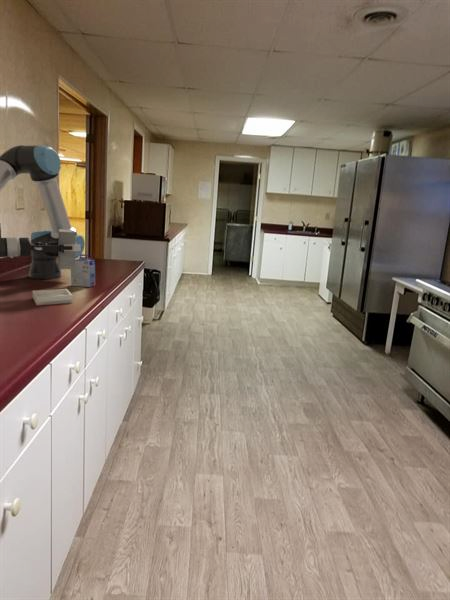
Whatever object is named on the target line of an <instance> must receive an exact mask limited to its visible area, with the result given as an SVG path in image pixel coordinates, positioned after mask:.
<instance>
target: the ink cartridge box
mask: <svg viewBox="0 0 450 600" xmlns="http://www.w3.org/2000/svg"><path fill="white" fill-rule="evenodd" d="M88 256H89V255H88V254H83V253H82V254H81V255H80V257H78V258H75V269H70V286H71V287H72V286H74V287H83V288H85V287H87V288H92V287H96V261H95V259H88Z"/></svg>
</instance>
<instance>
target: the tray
mask: <svg viewBox="0 0 450 600" xmlns="http://www.w3.org/2000/svg"><path fill="white" fill-rule="evenodd" d="M32 299H33V301H34V302H35V306H43V305H44V306H45V305H47V306H48V305H57V304H59V305H60V304H73V303H74V295H73V293H71V291H70V290H69V289H68V288H56V289H39V290H37V289H36V290H32Z"/></svg>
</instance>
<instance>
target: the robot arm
mask: <svg viewBox="0 0 450 600" xmlns="http://www.w3.org/2000/svg"><path fill="white" fill-rule="evenodd" d="M61 165H62V162H61V159H60V156H59V154H58V152H57V151H56V150H55V149H54V148H52V147H50V146H48V145H42V144H41V145H40V144H38V145H22V144H21V145H20V144H19V145H16V146H13V147H10V148H8V149H7V150H6V151H4V152H3V153H2V154H0V192H1V191H2V190H3V189H4V187H6V185H7V184H8V182H9V181H10V180H14V179H15V178H16V177H17V176H19V175H20V174H21V175H22V174H29V176H30V179H31V181H32V182H34V183H35V184H36V185H37V188H38V192H39V195H40V197H41V200H42V203H43V205H44V206H43V207H44V209H45V212H46V215H47V217H48V221H49V223H50V226H51V227H50V228H51V229H50V230H40V231H37V230H36V231H33V232H31V233H30V238H29V237H19V238H18V237H2V230H1V229H2V227H1V224H0V258H8V257H10V258H11V259H14V258H15V257H19V256H20V257H22V258H23V257H30V256H31V263H30V267H29V272H28V277H29V278H31V279H38V280H39V279H41V280H43V279H47V280H48V279H56V278H60V277H62V269H59V267H58V252H62V253H64V251H75V259H79V258H80V255H81V254H83V252H84V249H85V238H84V236H83V235H81V234H78V233H77V230H76V227H74V226H72V225H71V222H70V218H69V214H68V213H67V209H66V205H65V203H64V199H63V195H62V193H61V189H60V187H59V184H58V180H57V178H58V177H59V173H60V171H61V168H62V167H61ZM59 229H63V230H74V231H75V233H76V244H64V245H58V243H59Z"/></svg>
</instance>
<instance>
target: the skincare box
mask: <svg viewBox="0 0 450 600" xmlns="http://www.w3.org/2000/svg"><path fill="white" fill-rule="evenodd" d="M76 233H77V232H76ZM76 233H75V231H74V230H63V229H59V243H58V245H64V244H76ZM75 259H76V258H75V251H64V253H62V252H58V257H57V262H58V267H59V269H60V270H71V269H75Z"/></svg>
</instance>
